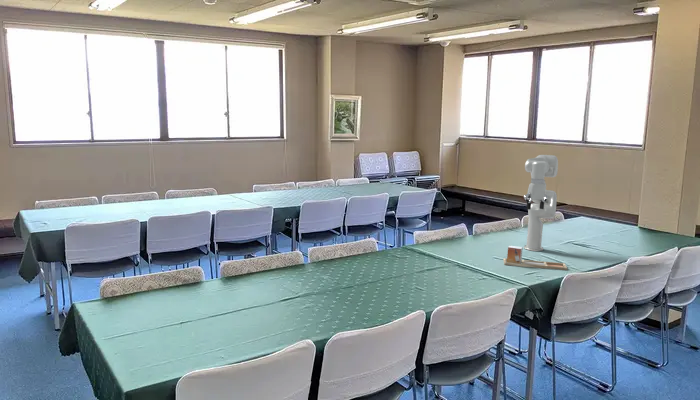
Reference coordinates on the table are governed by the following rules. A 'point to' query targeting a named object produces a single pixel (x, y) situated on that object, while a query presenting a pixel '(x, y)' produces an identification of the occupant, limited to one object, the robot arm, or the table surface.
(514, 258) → the small box
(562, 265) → the rail frame
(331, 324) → the table surface
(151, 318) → the table surface
